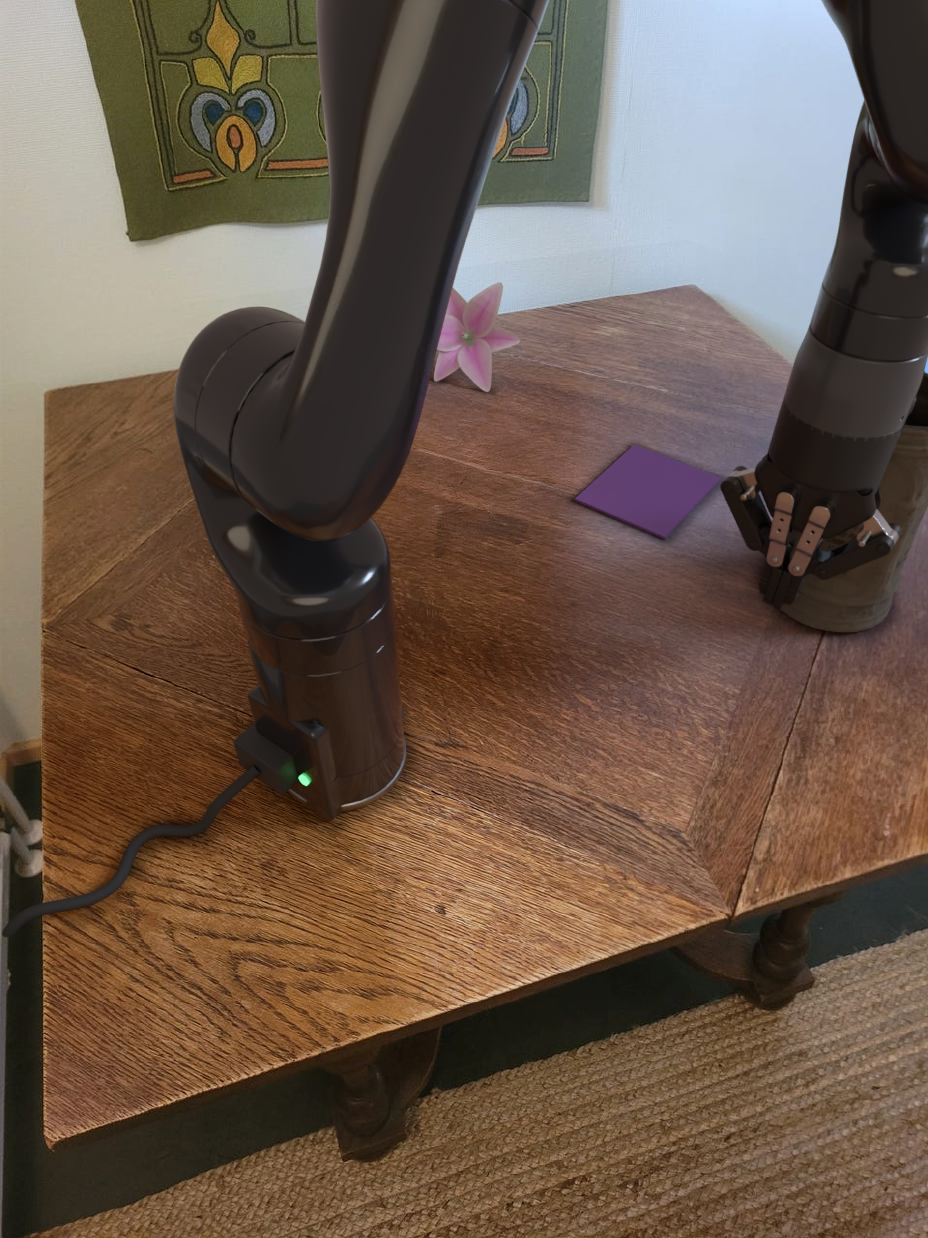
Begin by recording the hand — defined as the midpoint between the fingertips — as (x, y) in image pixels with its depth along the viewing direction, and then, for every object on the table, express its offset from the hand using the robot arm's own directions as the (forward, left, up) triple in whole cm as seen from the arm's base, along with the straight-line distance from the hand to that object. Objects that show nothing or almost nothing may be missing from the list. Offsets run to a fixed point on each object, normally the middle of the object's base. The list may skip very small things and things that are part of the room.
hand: (776, 599), depth 68 cm
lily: (+22, +47, -6) cm, 52 cm away
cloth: (+14, +18, -6) cm, 24 cm away
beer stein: (+13, -1, -6) cm, 14 cm away
